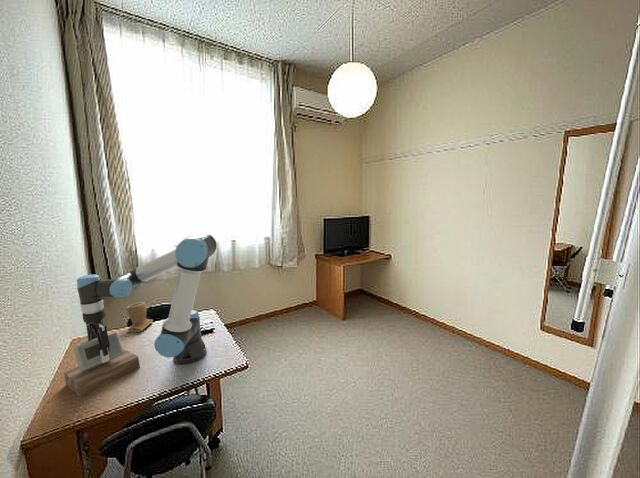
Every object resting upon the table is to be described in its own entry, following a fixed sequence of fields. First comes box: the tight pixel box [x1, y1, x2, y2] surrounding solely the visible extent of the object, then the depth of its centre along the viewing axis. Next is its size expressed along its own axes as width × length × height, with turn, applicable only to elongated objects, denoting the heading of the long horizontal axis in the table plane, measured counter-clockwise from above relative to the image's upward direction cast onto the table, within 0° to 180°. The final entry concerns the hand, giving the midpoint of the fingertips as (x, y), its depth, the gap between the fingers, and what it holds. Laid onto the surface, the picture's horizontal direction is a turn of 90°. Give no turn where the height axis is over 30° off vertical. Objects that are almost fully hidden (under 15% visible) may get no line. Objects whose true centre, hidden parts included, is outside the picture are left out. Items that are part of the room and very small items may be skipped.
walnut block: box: [63, 348, 141, 399], centre depth 125 cm, size 16×22×6 cm
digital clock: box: [73, 331, 124, 371], centre depth 123 cm, size 16×9×11 cm, turn 134°
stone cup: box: [126, 301, 154, 333], centre depth 170 cm, size 15×12×15 cm
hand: (101, 358), depth 124 cm, fingers closed on digital clock, 7 cm apart
